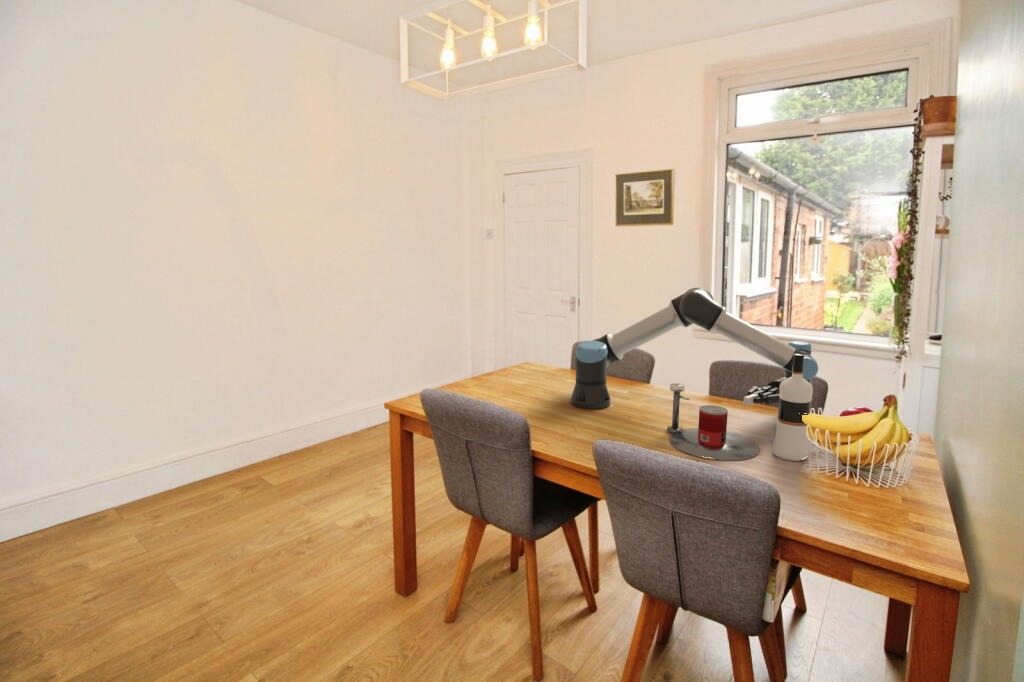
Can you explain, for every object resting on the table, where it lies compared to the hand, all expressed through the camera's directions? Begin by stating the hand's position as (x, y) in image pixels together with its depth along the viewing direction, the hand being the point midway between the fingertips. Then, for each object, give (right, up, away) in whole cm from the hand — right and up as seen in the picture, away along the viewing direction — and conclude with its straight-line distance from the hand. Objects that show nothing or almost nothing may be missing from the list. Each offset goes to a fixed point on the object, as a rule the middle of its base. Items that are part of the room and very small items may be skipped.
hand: (745, 401), depth 170 cm
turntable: (-13, -12, -8) cm, 20 cm away
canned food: (-14, -12, -8) cm, 20 cm away
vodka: (+5, -14, -17) cm, 23 cm away
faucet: (-22, -10, +3) cm, 24 cm away
